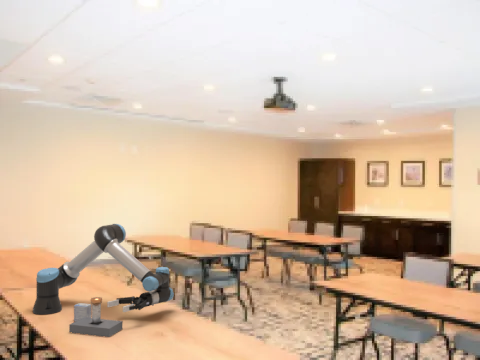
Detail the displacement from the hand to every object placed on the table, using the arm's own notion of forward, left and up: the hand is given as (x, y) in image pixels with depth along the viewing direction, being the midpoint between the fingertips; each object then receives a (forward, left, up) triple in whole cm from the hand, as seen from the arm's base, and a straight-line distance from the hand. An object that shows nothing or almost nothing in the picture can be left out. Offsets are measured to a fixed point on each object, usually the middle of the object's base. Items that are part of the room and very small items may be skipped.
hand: (115, 307), depth 225 cm
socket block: (-5, -9, -10) cm, 14 cm away
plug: (-5, -9, -10) cm, 14 cm away
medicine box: (-21, +3, -10) cm, 24 cm away
